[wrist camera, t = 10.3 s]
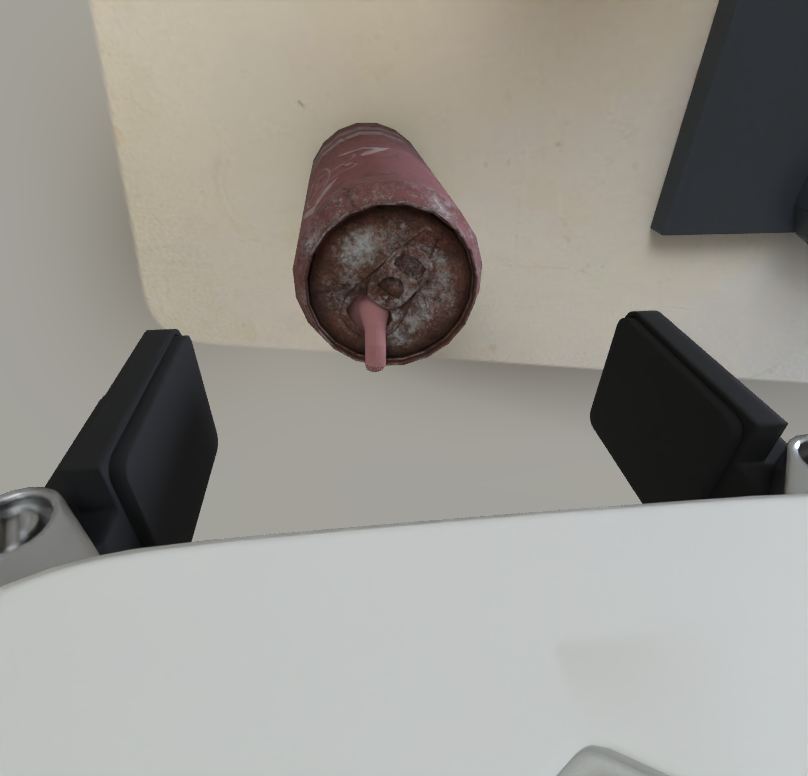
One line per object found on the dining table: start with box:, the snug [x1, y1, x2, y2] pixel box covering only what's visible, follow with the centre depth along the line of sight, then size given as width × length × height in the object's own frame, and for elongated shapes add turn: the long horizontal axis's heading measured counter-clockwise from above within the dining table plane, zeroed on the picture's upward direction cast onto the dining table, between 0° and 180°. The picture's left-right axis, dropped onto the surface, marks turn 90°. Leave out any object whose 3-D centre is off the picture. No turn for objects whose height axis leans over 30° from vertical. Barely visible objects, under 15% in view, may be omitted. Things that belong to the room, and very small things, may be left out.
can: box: [293, 123, 482, 372], centre depth 21 cm, size 6×6×14 cm
